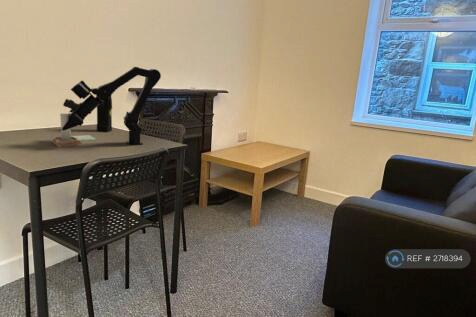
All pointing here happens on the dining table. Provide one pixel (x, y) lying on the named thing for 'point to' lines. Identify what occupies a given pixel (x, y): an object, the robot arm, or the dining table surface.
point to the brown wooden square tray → (66, 142)
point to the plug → (66, 133)
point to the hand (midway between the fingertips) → (62, 129)
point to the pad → (84, 138)
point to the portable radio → (104, 115)
